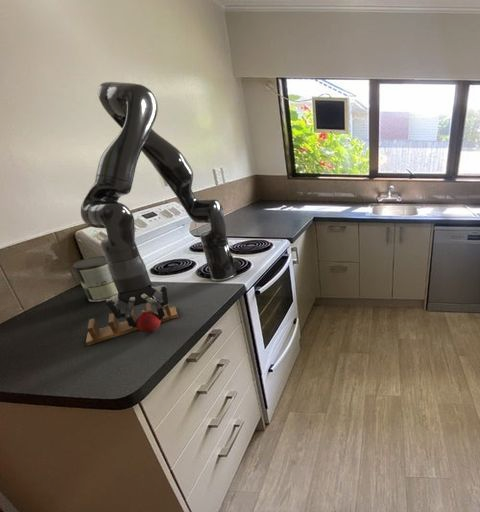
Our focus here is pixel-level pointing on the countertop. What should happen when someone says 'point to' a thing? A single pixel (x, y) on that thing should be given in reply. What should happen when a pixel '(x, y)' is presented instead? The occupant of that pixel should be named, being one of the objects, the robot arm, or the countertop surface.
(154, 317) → the red round piece
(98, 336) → the dish rack
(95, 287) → the coffee can
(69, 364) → the countertop surface
